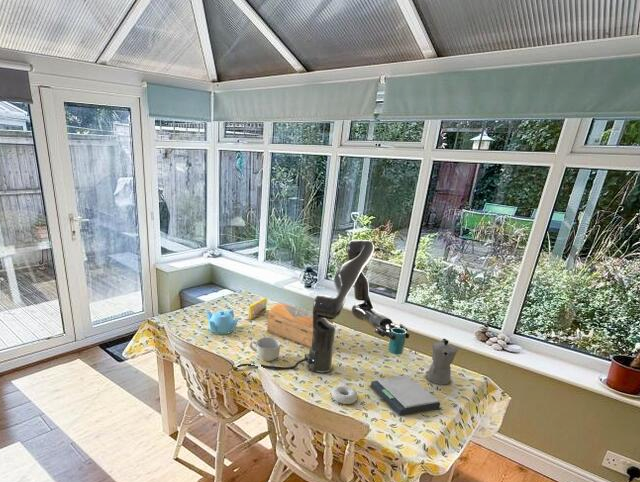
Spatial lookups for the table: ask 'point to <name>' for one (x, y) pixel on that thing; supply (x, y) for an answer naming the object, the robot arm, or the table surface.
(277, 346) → the teacup
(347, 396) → the donut
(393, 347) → the canister
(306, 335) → the wooden box
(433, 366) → the coffeepot
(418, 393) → the scale
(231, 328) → the teapot
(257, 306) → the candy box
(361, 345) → the table surface
